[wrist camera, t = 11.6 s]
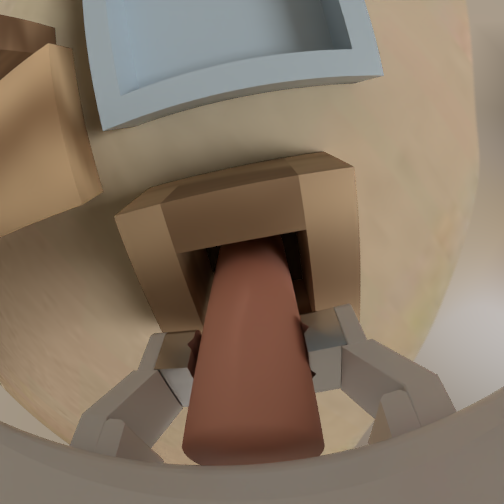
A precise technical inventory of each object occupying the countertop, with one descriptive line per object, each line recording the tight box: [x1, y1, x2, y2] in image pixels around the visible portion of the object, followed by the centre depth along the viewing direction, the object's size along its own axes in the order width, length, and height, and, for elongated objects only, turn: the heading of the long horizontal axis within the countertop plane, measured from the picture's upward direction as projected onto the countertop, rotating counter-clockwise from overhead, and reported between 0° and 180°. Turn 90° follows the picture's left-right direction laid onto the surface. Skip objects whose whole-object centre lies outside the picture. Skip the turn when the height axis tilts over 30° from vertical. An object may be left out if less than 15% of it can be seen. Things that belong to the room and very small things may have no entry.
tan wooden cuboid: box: [0, 43, 103, 238], centre depth 10 cm, size 8×7×2 cm
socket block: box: [114, 152, 360, 334], centre depth 12 cm, size 8×8×4 cm
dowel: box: [182, 234, 324, 466], centre depth 9 cm, size 3×3×10 cm
